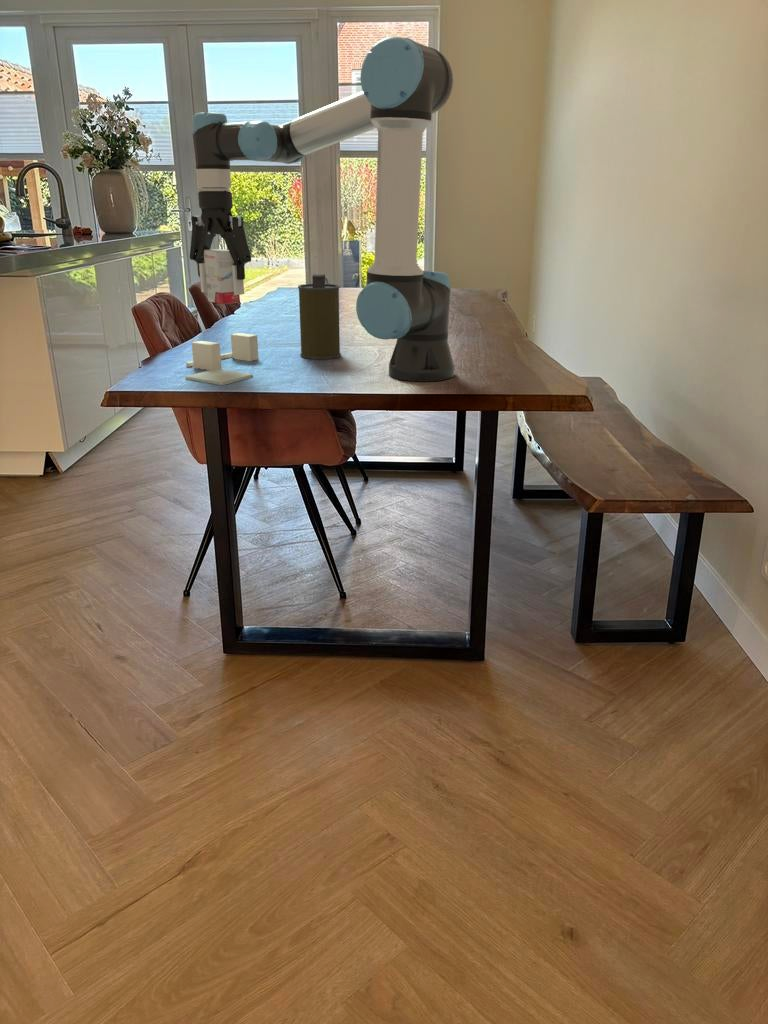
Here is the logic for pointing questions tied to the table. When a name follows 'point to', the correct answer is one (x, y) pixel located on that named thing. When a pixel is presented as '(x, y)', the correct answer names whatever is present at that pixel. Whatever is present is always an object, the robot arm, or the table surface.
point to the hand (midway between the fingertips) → (222, 293)
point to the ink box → (219, 276)
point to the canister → (319, 319)
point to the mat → (219, 376)
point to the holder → (210, 358)
